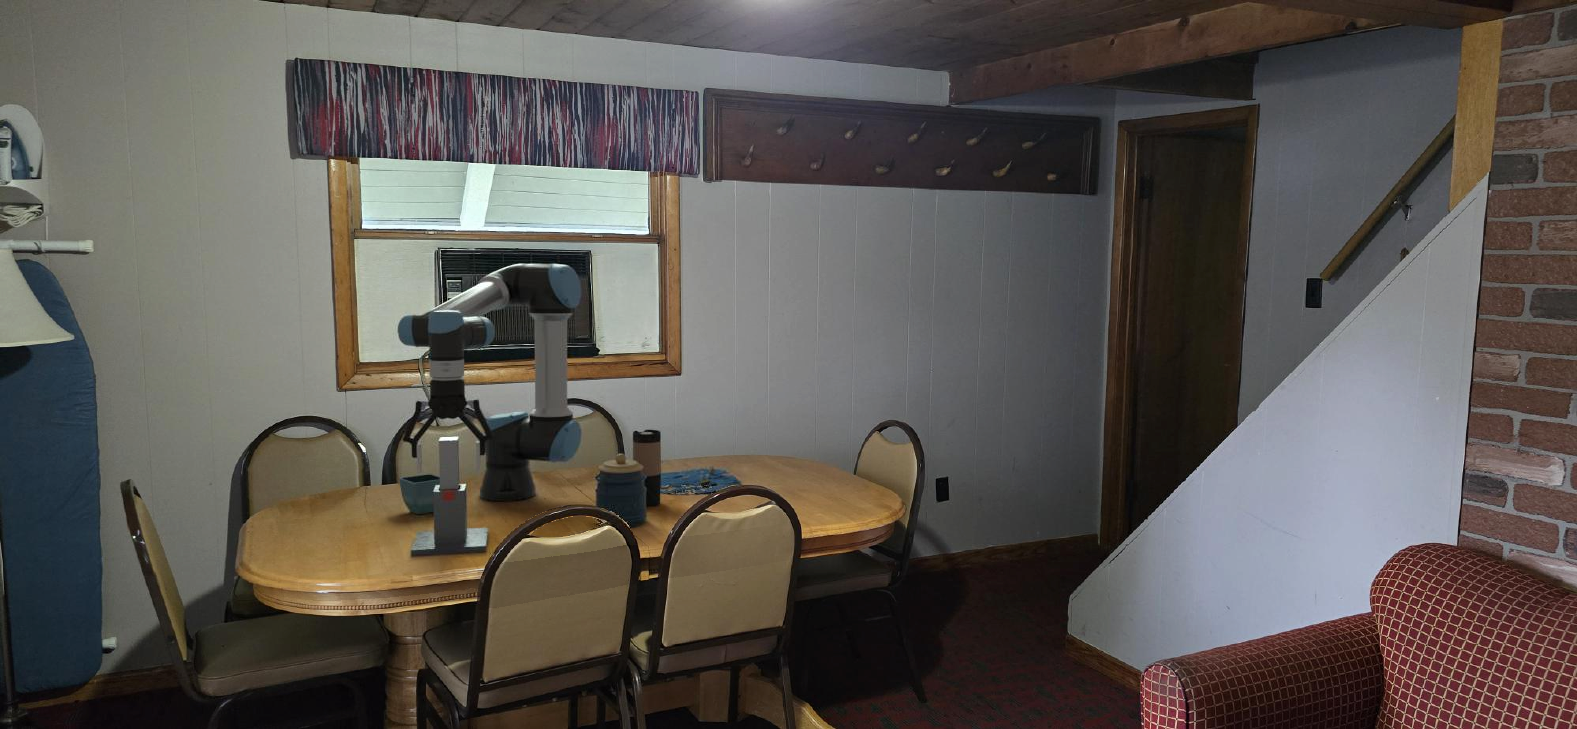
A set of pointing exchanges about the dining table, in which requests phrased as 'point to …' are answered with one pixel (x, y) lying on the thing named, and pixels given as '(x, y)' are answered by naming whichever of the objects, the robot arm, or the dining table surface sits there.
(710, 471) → the ocean terrain model
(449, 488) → the stand post
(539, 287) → the robot arm
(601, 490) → the canister
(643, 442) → the travel mug
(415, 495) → the flower pot
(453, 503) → the jack stand base
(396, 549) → the dining table surface
